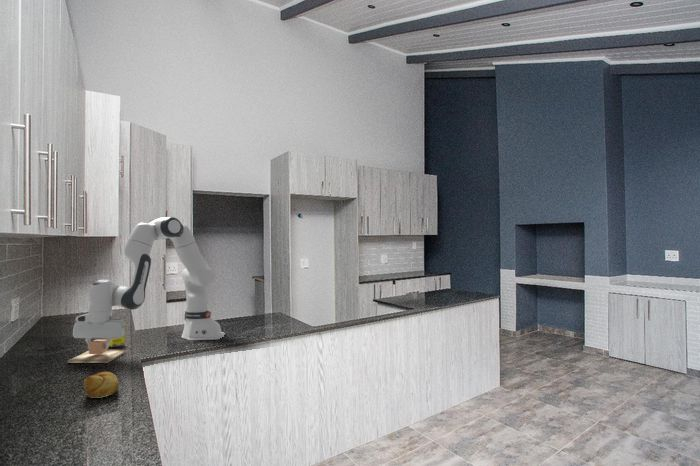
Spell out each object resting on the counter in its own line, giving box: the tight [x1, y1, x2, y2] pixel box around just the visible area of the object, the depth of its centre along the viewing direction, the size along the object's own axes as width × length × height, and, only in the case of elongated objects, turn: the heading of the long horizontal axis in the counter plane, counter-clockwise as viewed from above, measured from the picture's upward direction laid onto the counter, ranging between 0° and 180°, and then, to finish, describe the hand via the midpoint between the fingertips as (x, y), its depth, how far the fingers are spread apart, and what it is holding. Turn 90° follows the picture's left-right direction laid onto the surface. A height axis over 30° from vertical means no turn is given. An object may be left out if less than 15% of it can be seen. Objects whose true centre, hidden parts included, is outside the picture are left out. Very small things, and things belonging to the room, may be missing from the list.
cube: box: [88, 339, 108, 354], centre depth 172 cm, size 5×5×5 cm
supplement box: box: [109, 323, 127, 349], centre depth 192 cm, size 6×6×11 cm
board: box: [67, 349, 127, 364], centre depth 172 cm, size 16×16×2 cm
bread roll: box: [83, 371, 119, 398], centre depth 134 cm, size 13×10×8 cm
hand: (98, 348), depth 172 cm, fingers closed on cube, 5 cm apart
